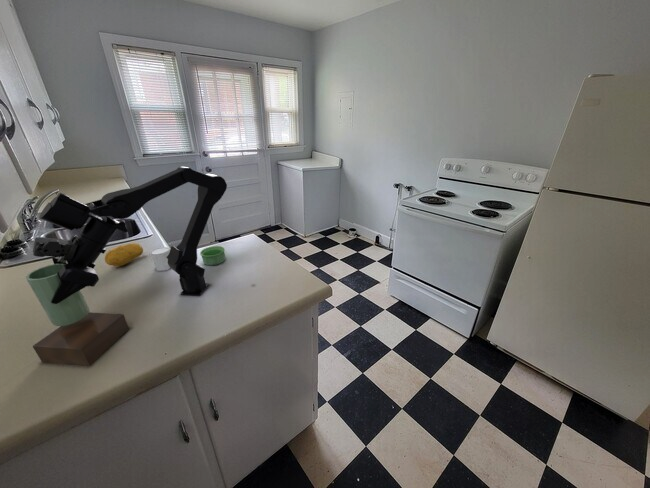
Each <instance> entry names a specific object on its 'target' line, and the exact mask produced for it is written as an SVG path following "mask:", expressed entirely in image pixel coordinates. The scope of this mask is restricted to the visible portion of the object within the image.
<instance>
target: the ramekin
mask: <svg viewBox="0 0 650 488" xmlns="http://www.w3.org/2000/svg"><path fill="white" fill-rule="evenodd" d="M225 249H226V248H225V247H223V246H221V245H213V246H207V247H205V248H203V249H202V250H201V251H200V252H199V254H200V256H201V259H202V262H203V264H205V265H207V266H215V265H219V264H221V263H223V262H224V261H225V260H226V255H225V254H226V253H225Z"/></svg>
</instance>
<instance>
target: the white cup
mask: <svg viewBox="0 0 650 488" xmlns="http://www.w3.org/2000/svg"><path fill="white" fill-rule="evenodd" d="M170 249H171V247H168V246H163V247H157V248H154V249H152V250H150V251H149V256H150V258H151V260H152V262H153V265H154V267H155V270H156V271H158V272H164V271H167V270H170V269H171V268H170V267H169V265H168V259H167V258H166V257H167V256H168V255H169V253H170Z"/></svg>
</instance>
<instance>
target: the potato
mask: <svg viewBox="0 0 650 488" xmlns="http://www.w3.org/2000/svg"><path fill="white" fill-rule="evenodd" d="M143 253H144V247H143V246H142V245H140V244H139V243H135V242H131V243H127V244H123V245H122V244H121V245H118V246H116V247H114V248H112V249H110V250H109V251H106V252H105V256H104V262H105V264H107V265H108V266H114V267H121V266H122V267H123V266H124V265H127V264H129V263H130V262H132V261H134V260H135V259H137V258H139V257H140V256H141V255H142V254H143Z"/></svg>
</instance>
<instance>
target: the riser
mask: <svg viewBox="0 0 650 488" xmlns="http://www.w3.org/2000/svg"><path fill="white" fill-rule="evenodd" d="M127 322H128V321H127V319H126V318H125V315H124V313H113V312H112V313H109V312H93V311H92V312H90V311H89V313H88V314H87V315H86V316H85V317H84V318H82V319H81V320H79V321H77V322H75V323H72V324H69V325H65V326H58V327H57V328H56V329H54V330H53V331H52V332H50V333H49V334H48V335H46V336H44V337H43V338H41V340H39V341H37V342H36V343H34V344H33V345H32V348H33V350H34V351H35V353H36V356H38V358H39V360H40V361H41V363H43V364H45V363H47V364H58V365H75V366H91V365H92V364H94V363H95V361H97V360H98V359H100V357H101V356H102V355H103V354H104V353H105V352H107V351H108V350H109V348H111V347H112V346H113V345H114V344H115V343H116V342H117V341H118V340H119V339H121V337H123V335H125V333H127V332H128V331H129V330H130V327H129V325H128V323H127Z"/></svg>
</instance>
